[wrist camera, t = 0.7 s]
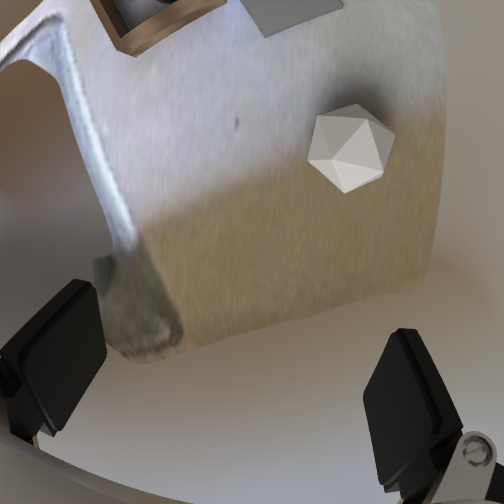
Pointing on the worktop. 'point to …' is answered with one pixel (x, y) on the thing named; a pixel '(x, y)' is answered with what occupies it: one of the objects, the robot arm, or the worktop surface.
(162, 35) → the cubby
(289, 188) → the worktop surface
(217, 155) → the worktop surface
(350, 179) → the die
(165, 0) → the supplement bottle
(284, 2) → the pad
